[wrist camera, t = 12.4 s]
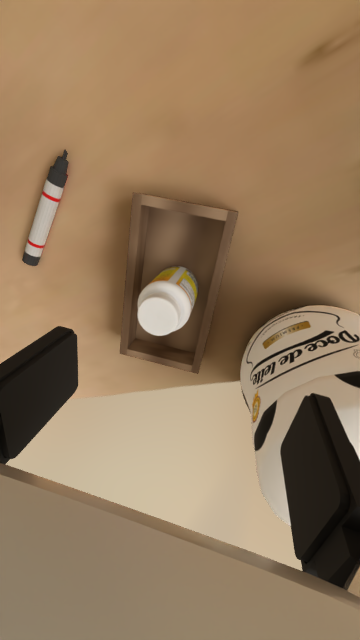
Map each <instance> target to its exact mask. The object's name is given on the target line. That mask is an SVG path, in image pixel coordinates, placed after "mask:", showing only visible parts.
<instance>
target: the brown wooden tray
mask: <svg viewBox="0 0 360 640" xmlns="http://www.w3.org/2000/svg"><path fill="white" fill-rule="evenodd" d="M237 215H238V212H236V211H231V210H226V209H220V208H215V207H210V206H205V205H199V204H194V203H189V202H184V201H178V200H173V199H168V198H163V197H158V196H152V195H147V194H141V193H134V192H133V198H132V210H131V222H130V234H129V246H128V259H127V271H126V283H125V295H124V307H123V320H122V332H121V344H120V354H124V355H128V356H132V357H135V358H139V359H143V360H147V361H151V362H155V363H159V364H162V365H166V366H170V367H174V368H178V369H182V370H186V371H189V372H193V373H197V374H198V373H199V369H200V365H201V360H202V356H203V352H204V348H205V344H206V340H207V336H208V332H209V328H210V324H211V320H212V316H213V312H214V308H215V304H216V300H217V296H218V292H219V288H220V284H221V280H222V276H223V272H224V268H225V264H226V260H227V256H228V252H229V248H230V244H231V239H232V235H233V231H234V227H235V223H236V219H237ZM172 266H180V267H184V268H186V269H188V270H189V271H191V272H192V273H193V274H194V276H195V277H196V279H197V281H198V286H199V290H198V295H197V298H196V301H195V303H194V306H193V309H192V311H191V314H190V317H189V319H188V321H187V322H186V323H185V325H184V326H183V327H181V328H180V329H178V330H176V331H173V332H171V333H169V334H167V335H163V336H156V335H152V334H150V333H148V332H147V331H145V330H144V329H143V328H142V326H141V325H140V323H139V321H138V316H137V312H138V298H139V295H140V293H141V292H142V290H143V289H144V288H145V287H146V286H147V285H148V284H149V283H150V282H151V281H153V280H154V279H155V278H156V277H157V276H158V275H159V274H160V273H161V272H162V271H163V270H165V269H166V268H169V267H172Z"/></svg>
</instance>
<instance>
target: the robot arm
mask: <svg viewBox="0 0 360 640" xmlns="http://www.w3.org/2000/svg"><path fill="white" fill-rule="evenodd" d="M77 387H78V357H77V335H76V334H74V331H73V330H72V329H69V328H65V327H61V326H58V327H56V328H54V329H53V330H51V331H50V332H48V333H47V334H45V335H44V336H42V337H41V338H39V339H38V340H36V341H35V342H33V343H31V344H30V345H28V346H27V347H25V348H24V349H22V350H21V351H19V352H18V353H16V354H15V355H13V356H12V357H10V358H9V359H7V360H5V361H4V362H2V363H1V364H0V640H360V460H359V458H358V455H357V453H356V451H355V449H354V447H353V445H352V443H351V442H350V441H349V439H348V436H347V434H346V432H345V430H344V427H343V425H342V423H341V421H340V419H339V416H338V414H337V412H336V410H335V407H334V405H333V403H332V401H331V399H330V398H329V397H327V396H323V395H319V394H315V393H311V394H310V396H307V395H306V396H305V397H304V398H303V400H302V402H301V404H300V407H299V409H298V411H297V413H296V415H295V417H294V419H293V421H292V423H291V425H290V427H289V429H288V431H287V434H286V436H285V438H284V440H283V442H282V444H281V449H280V455H281V461H282V468H283V475H284V482H285V489H286V496H287V502H288V509H289V516H290V523H291V529H292V536H293V543H294V550H295V555H296V557H297V559H299V560H301V563H302V569H303V571H300V570H297V569H295V568H292V567H289V566H287V565H284V564H282V563H279V562H277V561H274V560H271V559H268V558H266V557H263V556H261V555H258V554H256V553H253V552H250V551H247V550H245V549H242V548H239V547H236V546H233V545H231V544H228V543H225V542H222V541H219V540H217V539H214V538H211V537H209V536H206V535H203V534H200V533H198V532H195V531H192V530H189V529H186V528H184V527H181V526H178V525H175V524H173V523H170V522H167V521H164V520H161V519H159V518H156V517H153V516H150V515H147V514H144V513H142V512H139V511H136V510H133V509H131V508H128V507H125V506H122V505H119V504H116V503H114V502H110V501H108V500H105V499H102V498H100V497H97V496H94V495H91V494H88V493H85V492H82V491H80V490H77V489H74V488H71V487H68V486H65V485H63V484H60V483H57V482H54V481H51V480H48V479H45V478H42V477H39V476H37V475H34V474H31V473H28V472H25V471H22V470H19V469H16V468H14V467H11V466H8V465H5V464H6V463H7V462H8V461H9V460H10V459H13V458H15V457H16V456H17V455H18V454H19V453H20V452H21V451H22V450H23V449H24V448H25V447H26V446H27V444H28V443H29V442H30V441H31V440H32V439H33V438H34V437H35V436H36V434H37V433H38V432H39V431H40V430H41V429H42V428H43V427H44V426H45V424H46V423H47V422H48V421H49V420H50V419H51V418H52V417H53V416H54V414H55V413H56V412H57V411H58V410H59V409H60V408H61V407H62V406H63V405H64V403H65V402H66V401H67V400H68V399H69V398H70V397H71V396H72V395H73V394H74V392H75V391H76V389H77Z"/></svg>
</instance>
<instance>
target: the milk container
mask: <svg viewBox="0 0 360 640" xmlns="http://www.w3.org/2000/svg"><path fill="white" fill-rule="evenodd" d="M240 380H241V388H242V392H243V396H244V399H245V401H246V404H247V406H248V408H249V410H250V413H251V419H252V440H253V445H254V449H255V458H256V470H257V475H258V480H259V485H260V488H261V492H262V494H263V496H264V497H265V499H266V501H267V502H268V504H269V505H270V507H271V509H272V510H273V512H274V514H275V515H276V516H278V517H279V518H280V519H281V520H283V521H284V522H285V523H287V524H288V525H289V526H290V527H291V523H290V516H289V509H288V502H287V496H286V489H285V482H284V475H283V468H282V461H281V455H280V449H281V444H282V442H283V440H284V438H285V436H286V434H287V431H288V429H289V427H290V425H291V423H292V421H293V419H294V417H295V415H296V413H297V411H298V409H299V407H300V404H301V402H302V400H303V398H304V397H305V396H306V395H307V396H310V394H311V393H315V394H319V395H323V396H327V397H329V398H330V399H331V401H332V403H333V405H334V407H335V410H336V412H337V414H338V416H339V419H340V421H341V423H342V425H343V427H344V430H345V432H346V434H347V436H348V439H349V441H350V442H351V443H352V445H353V447H354V449H355V451H356V453H357V455H358V458H359V460H360V315H359V314H357V313H354V312H352V311H349V310H346V309H342V308H339V307H333V306H325V305H314V306H304V307H299V308H295V309H292V310H289V311H286V312H284V313H281V314H279V315H277V316H275V317H274V318H272V319H270V320H269V321H268V322H266V323H265V324H264V325H263V326H261V327H260V328H259V329H258V330H257V331H256V333H255V334H254V335H253V336H252V338H251V339H250V341H249V343H248V345H247V347H246V350H245V352H244V355H243V359H242V364H241V371H240Z"/></svg>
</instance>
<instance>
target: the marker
mask: <svg viewBox="0 0 360 640" xmlns="http://www.w3.org/2000/svg"><path fill="white" fill-rule="evenodd" d="M67 154H68V153H67V152H66V150H64V154H63V157H60V156H58V157H57V159H56V162H55V164H54V166H51V167H50V171H49V174H48V177H47V179H46V182H45V185H44V189H43V192H42V195H41V199H40V202H39V205H38V208H37V212H36V215H35V218H34V221H33V225H32V228H31V231H30V235H29V238H28V241H27V244H26V248H25V252H24V255H23V259H22V260H23V262H24V263H26V264H28V265H32V266H36V265H38V262H39V259H40V256H41V254H42V251H43V248H44V245H45V242H46V240H47V237H48V234H49V231H50V228H51V225H52V222H53V219H54V216H55V213H56V210H57V207H58V204H59V201H60V198H61V196H62V193H63V190H64V186H65V183H66V180H67V177H68V175H67V174H66V172H67V167H68V161H67V160H66V157H67Z"/></svg>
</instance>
